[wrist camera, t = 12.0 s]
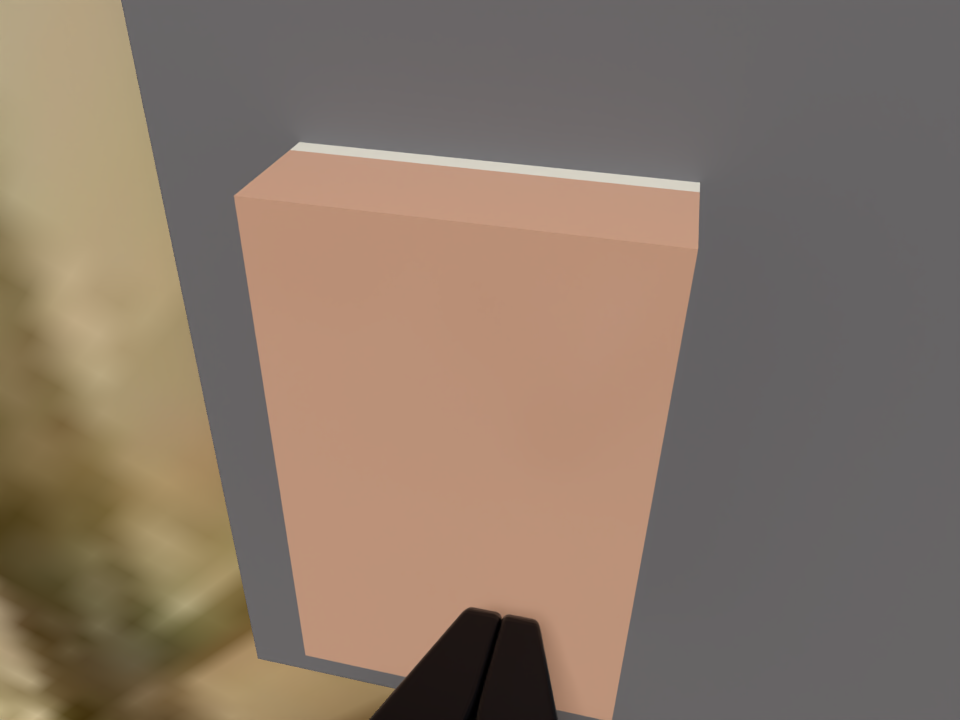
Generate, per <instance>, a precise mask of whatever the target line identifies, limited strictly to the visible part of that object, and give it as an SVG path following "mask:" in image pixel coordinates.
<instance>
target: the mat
mask: <svg viewBox="0 0 960 720" xmlns="http://www.w3.org/2000/svg"><path fill="white" fill-rule="evenodd" d="M121 2H122V7H123V11H124V16H125V21H126V26H127V31H128V35H129V40H130V45H131V50H132V55H133V59H134V64H135V69H136V74H137V79H138V83H139V88H140V93H141V98H142V103H143V108H144V112H145V117H146V122H147V127H148V132H149V136H150V141H151V146H152V151H153V156H154V160H155V165H156V170H157V175H158V180H159V184H160V189H161V194H162V199H163V204H164V208H165V213H166V218H167V223H168V228H169V232H170V237H171V242H172V247H173V252H174V257H175V261H176V266H177V271H178V276H179V281H180V285H181V290H182V295H183V300H184V305H185V309H186V314H187V319H188V324H189V329H190V333H191V338H192V343H193V348H194V353H195V357H196V362H197V367H198V372H199V377H200V382H201V386H202V391H203V396H204V401H205V406H206V410H207V415H208V420H209V425H210V430H211V434H212V439H213V444H214V449H215V454H216V458H217V463H218V468H219V473H220V478H221V482H222V487H223V492H224V497H225V502H226V507H227V511H228V516H229V521H230V526H231V531H232V535H233V540H234V545H235V550H236V555H237V559H238V564H239V569H240V574H241V579H242V583H243V588H244V593H245V598H246V603H247V607H248V612H249V617H250V622H251V627H252V631H253V636H254V641H255V646H256V651H257V656H258V659H263V660H267V661H272V662H276V663H281V664H286V665H290V666H295V667H299V668H304V669H308V670H313V671H317V672H322V673H326V674H331V675H336V676H340V677H345V678H349V679H354V680H358V681H363V682H367V683H372V684H376V685H381V686H385V687H390V688H395V689H396V688H397V687H398V686H399V684H400V683H401V682H402V681H403V680H404V679H405V678H406V677H403V676H399V675H394V674H390V673H385V672H380V671H376V670H371V669H367V668H362V667H357V666H353V665H348V664H344V663H339V662H334V661H330V660H325V659H321V658H316V657H312V656H307V655H305V649H304V642H303V636H302V630H301V623H300V617H299V610H298V604H297V598H296V591H295V585H294V578H293V572H292V565H291V559H290V553H289V546H288V540H287V533H286V527H285V521H284V514H283V508H282V501H281V495H280V488H279V482H278V476H277V469H276V463H275V456H274V450H273V444H272V437H271V431H270V424H269V418H268V412H267V405H266V399H265V392H264V386H263V379H262V373H261V367H260V360H259V354H258V347H257V341H256V335H255V328H254V322H253V315H252V309H251V302H250V296H249V290H248V283H247V277H246V270H245V264H244V258H243V251H242V245H241V238H240V232H239V225H238V219H237V213H236V206H235V200H234V195H235V194H237V193H238V192H239V191H240V190H241V189H243V188H244V187H245V186H246V185H248V184H249V183H250V182H251V181H253V180H254V179H255V178H256V177H257V176H259V175H260V174H261V173H262V172H264V171H265V170H266V169H267V168H268V167H270V166H271V165H272V164H273V163H275V162H276V161H277V160H278V159H279V158H281V157H282V156H283V155H284V154H286V153H287V152H288V151H289V150H291V149H292V148H293V147H294V146H295V145H297V144H298V143H299V142H304V143H313V144H323V145H333V146H343V147H353V148H363V149H373V150H383V151H393V152H402V153H412V154H422V155H432V156H442V157H452V158H462V159H472V160H481V161H491V162H501V163H511V164H521V165H531V166H541V167H551V168H561V169H570V170H580V171H590V172H600V173H610V174H620V175H630V176H640V177H650V178H659V179H669V180H679V181H689V182H699V183H700V202H699V238H698V253H697V258H696V264H695V269H694V275H693V280H692V286H691V291H690V297H689V302H688V307H687V313H686V318H685V324H684V329H683V335H682V340H681V346H680V351H679V357H678V362H677V367H676V373H675V378H674V384H673V389H672V395H671V400H670V406H669V411H668V417H667V422H666V428H665V433H664V438H663V444H662V449H661V455H660V460H659V466H658V471H657V477H656V482H655V488H654V493H653V499H652V504H651V509H650V515H649V520H648V526H647V531H646V537H645V542H644V548H643V553H642V559H641V564H640V570H639V575H638V580H637V586H636V591H635V597H634V602H633V608H632V613H631V619H630V624H629V630H628V635H627V640H626V646H625V651H624V657H623V662H622V668H621V673H620V679H619V684H618V690H617V695H616V701H615V706H614V711H613V717H612V720H960V0H121ZM556 712H557V717H558V720H601V719H597V718H592V717H587V716H583V715H578V714H574V713H569V712H564V711H560V710H556Z"/></svg>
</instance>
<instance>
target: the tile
mask: <svg viewBox="0 0 960 720" xmlns="http://www.w3.org/2000/svg"><path fill="white" fill-rule="evenodd" d="M234 200H235V206H236V213H237V219H238V225H239V232H240V238H241V245H242V251H243V258H244V264H245V270H246V277H247V283H248V290H249V296H250V302H251V309H252V315H253V322H254V328H255V335H256V341H257V347H258V354H259V360H260V367H261V373H262V379H263V386H264V392H265V399H266V405H267V412H268V418H269V424H270V431H271V437H272V444H273V450H274V456H275V463H276V469H277V476H278V482H279V488H280V495H281V501H282V508H283V514H284V521H285V527H286V533H287V540H288V546H289V553H290V559H291V565H292V572H293V578H294V585H295V591H296V598H297V604H298V610H299V617H300V623H301V630H302V636H303V642H304V649H305V655H307V656H312V657H316V658H321V659H325V660H330V661H334V662H339V663H344V664H348V665H353V666H357V667H362V668H367V669H371V670H376V671H380V672H385V673H390V674H394V675H399V676H403V677H406V676H407V675H408V674H409V673H410V672H411V671H412V669H413V668H414V667H415V666H416V665H417V664H418V662H419V661H420V660H421V659H422V658H423V657H424V656H425V654H426V653H427V652H428V651H429V650H430V649H431V647H432V646H433V645H434V644H435V643H436V642H437V641H438V639H439V638H440V637H441V636H442V635H443V634H444V632H445V631H446V630H447V629H448V628H449V627H450V625H451V624H452V623H453V622H454V621H455V620H456V619H457V617H458V616H459V615H460V614H461V613H462V612H463V611H464V610H465V609H467V608H469V607H475V608H480V609H485V610H491V611H496V612H498V613H500V614H501V616H502V618H503V617H504V616H505V615H508V614H511V615H516V616H522V617H527V618H532V619H535V620H536V621H538V623H539V625H540V629H541V634H542V639H543V644H544V650H545V655H546V660H547V665H548V670H549V676H550V681H551V686H552V691H553V696H554V701H555V707H556V710H560V711H564V712H569V713H574V714H578V715H583V716H587V717H592V718H597V719H601V720H612V717H613V711H614V706H615V701H616V695H617V690H618V684H619V679H620V673H621V668H622V662H623V657H624V651H625V646H626V640H627V635H628V630H629V624H630V619H631V613H632V608H633V602H634V597H635V591H636V586H637V580H638V575H639V570H640V564H641V559H642V553H643V548H644V542H645V537H646V531H647V526H648V520H649V515H650V509H651V504H652V499H653V493H654V488H655V482H656V477H657V471H658V466H659V460H660V455H661V449H662V444H663V438H664V433H665V428H666V422H667V417H668V411H669V406H670V400H671V395H672V389H673V384H674V378H675V373H676V367H677V362H678V357H679V351H680V346H681V340H682V335H683V329H684V324H685V318H686V313H687V307H688V302H689V297H690V291H691V286H692V280H693V275H694V269H695V264H696V258H697V253H698V238H699V202H700V183H699V182H689V181H679V180H669V179H659V178H650V177H640V176H630V175H620V174H610V173H600V172H590V171H580V170H570V169H561V168H551V167H541V166H531V165H521V164H511V163H501V162H491V161H481V160H472V159H462V158H452V157H442V156H432V155H422V154H412V153H402V152H393V151H383V150H373V149H363V148H353V147H343V146H333V145H323V144H313V143H304V142H299V143H298V144H297V145H295V146H294V147H293V148H292V149H291V150H289V151H288V152H287V153H286V154H284V155H283V156H282V157H281V158H279V159H278V160H277V161H276V162H275V163H273V164H272V165H271V166H270V167H268V168H267V169H266V170H265V171H264V172H262V173H261V174H260V175H259V176H257V177H256V178H255V179H254V180H253V181H251V182H250V183H249V184H248V185H246V186H245V187H244V188H243V189H241V190H240V191H239V192H238V193H237V194H235V195H234Z"/></svg>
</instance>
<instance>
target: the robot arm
mask: <svg viewBox="0 0 960 720" xmlns="http://www.w3.org/2000/svg"><path fill="white" fill-rule="evenodd" d="M369 720H558V717H557V712H556V707H555V701H554V696H553V691H552V686H551V681H550V676H549V670H548V665H547V660H546V655H545V650H544V644H543V639H542V634H541V629H540V625H539V623H538V621H536V620H535V619H532V618H527V617H522V616H516V615H511V614H508V615H505V616H504V617H503V618H502V616H501V614H500V613H498V612H496V611H491V610H485V609H480V608H475V607H469V608H467V609H465V610H464V611H463V612H462V613H461V614H460V615H459V616H458V617H457V619H456V620H455V621H454V622H453V623H452V624H451V625H450V627H449V628H448V629H447V630H446V631H445V632H444V634H443V635H442V636H441V637H440V638H439V639H438V641H437V642H436V643H435V644H434V645H433V646H432V647H431V649H430V650H429V651H428V652H427V653H426V654H425V656H424V657H423V658H422V659H421V660H420V661H419V662H418V664H417V665H416V666H415V667H414V668H413V669H412V671H411V672H410V673H409V674H408V675H407V676H406V678H405V679H404V680H403V681H402V682H401V683H400V684H399V686H398V687H397V688H396V689H395V690H394V691H393V693H392V694H391V695H390V696H389V697H388V698H387V699H386V701H385V702H384V703H383V704H382V705H381V706H380V708H379V709H378V710H377V711H376V712H375V713H374V715H373V716H372V717H371V718H370V719H369Z"/></svg>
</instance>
